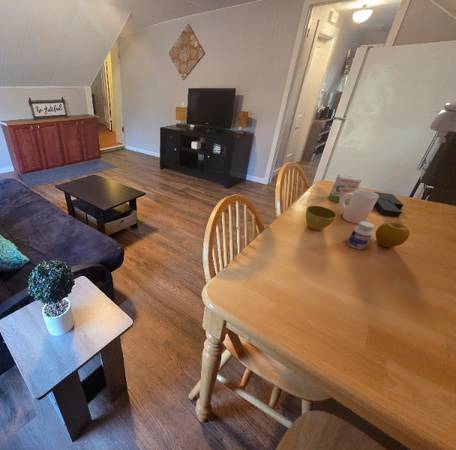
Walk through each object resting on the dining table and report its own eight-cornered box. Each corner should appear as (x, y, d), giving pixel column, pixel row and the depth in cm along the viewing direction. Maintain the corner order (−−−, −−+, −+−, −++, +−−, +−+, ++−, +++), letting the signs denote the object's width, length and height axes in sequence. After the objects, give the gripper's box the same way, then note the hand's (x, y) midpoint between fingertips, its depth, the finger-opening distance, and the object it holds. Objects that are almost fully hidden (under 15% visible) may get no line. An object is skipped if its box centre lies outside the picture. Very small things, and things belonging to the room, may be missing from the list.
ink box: (330, 200, 119) (339, 177, 113) (328, 196, 123) (337, 174, 117) (350, 203, 116) (361, 180, 110) (348, 199, 120) (359, 176, 114)
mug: (340, 209, 111) (351, 184, 105) (369, 221, 103) (383, 195, 96) (329, 213, 108) (340, 188, 102) (358, 225, 99) (372, 199, 93)
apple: (403, 255, 83) (418, 233, 79) (372, 247, 87) (385, 226, 82) (397, 242, 90) (410, 221, 85) (368, 235, 93) (380, 215, 88)
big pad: (390, 198, 121) (393, 194, 120) (400, 209, 111) (403, 204, 110) (357, 194, 125) (359, 189, 124) (364, 204, 116) (366, 199, 114)
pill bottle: (349, 239, 91) (359, 218, 87) (366, 245, 88) (378, 224, 83) (345, 244, 88) (356, 224, 83) (362, 251, 85) (375, 230, 80)
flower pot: (327, 237, 92) (335, 221, 88) (298, 228, 97) (304, 212, 93) (330, 226, 99) (338, 210, 95) (303, 218, 104) (309, 203, 100)
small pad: (387, 205, 115) (390, 200, 114) (398, 217, 105) (401, 212, 104) (372, 203, 117) (374, 198, 115) (381, 214, 107) (384, 209, 106)
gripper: (513, 106, 88) (485, 145, 96) (440, 103, 95) (419, 140, 102) (527, 108, 83) (497, 149, 91) (450, 105, 90) (427, 143, 97)
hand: (455, 144), depth 96 cm, fingers open, 8 cm apart
